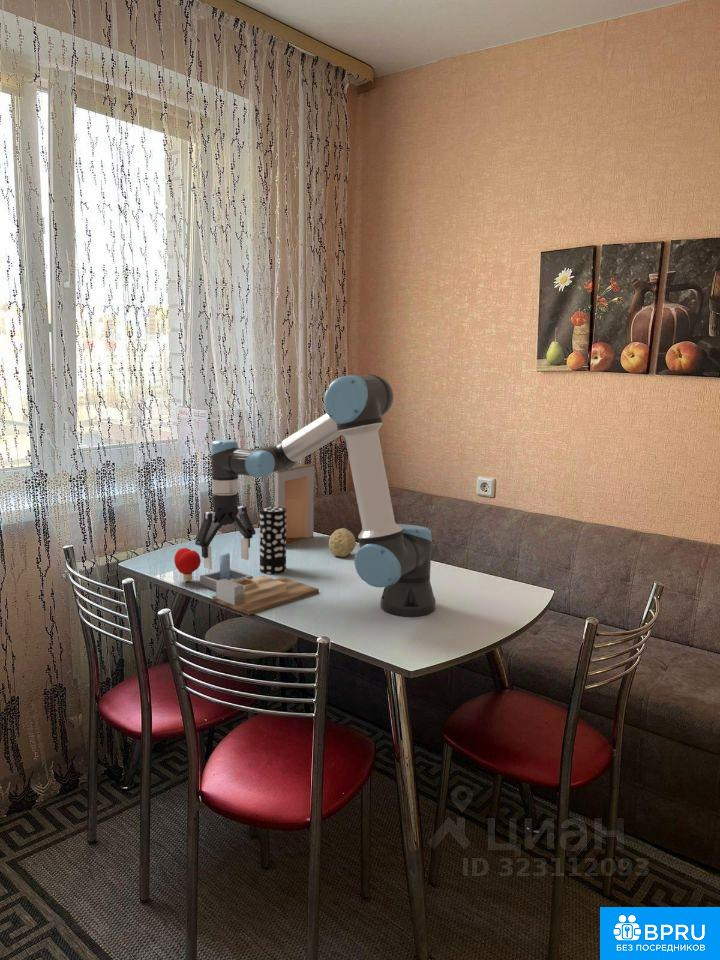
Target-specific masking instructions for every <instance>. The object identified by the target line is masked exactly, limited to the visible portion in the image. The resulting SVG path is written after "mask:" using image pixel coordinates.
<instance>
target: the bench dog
mask: <svg viewBox="0 0 720 960" xmlns="http://www.w3.org/2000/svg"><path fill="white" fill-rule="evenodd" d="M216 589H217V592H216V595H217V599H220V600H222V601H225V602H228V603H230V604H233V605H237V604H240V603H243V585H242V584H239V583H236V582H233V581H230V580H228V579H222V580H218V581H216Z"/></svg>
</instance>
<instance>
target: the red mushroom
mask: <svg viewBox="0 0 720 960" xmlns="http://www.w3.org/2000/svg"><path fill="white" fill-rule="evenodd" d="M174 565H175V567H176V569H177V570H178V572H179V573H180V574H181V575H182V577H183V581H185V582H186V583H190V582H191V581H192V580H193V572H195V571H196V570H198V569H199V568H200V566H201V556H200V554H199V553H198V551H196V550H192V549H190V548H187V547H182V548H179V549H178V550H177V551H176V552H175V555H174Z"/></svg>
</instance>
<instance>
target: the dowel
mask: <svg viewBox="0 0 720 960" xmlns="http://www.w3.org/2000/svg"><path fill="white" fill-rule="evenodd" d="M218 558H219V571H220V580H222V579H228V580H230V569H231V560H230V559H231V554H230V552H220V553H219V557H218Z"/></svg>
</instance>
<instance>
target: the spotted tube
mask: <svg viewBox="0 0 720 960" xmlns="http://www.w3.org/2000/svg"><path fill="white" fill-rule="evenodd" d="M286 571H287V546H286V508H283V507H275V506H263V507H261V508H259V572H261V573H262V574H265V575H279V574H283V573H285V572H286Z"/></svg>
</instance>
